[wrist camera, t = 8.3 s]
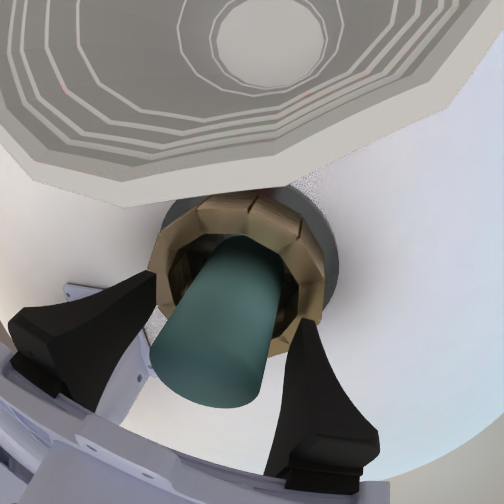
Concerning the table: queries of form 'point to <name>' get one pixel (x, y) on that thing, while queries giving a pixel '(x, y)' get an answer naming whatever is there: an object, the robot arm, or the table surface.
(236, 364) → the peg
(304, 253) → the ring holder
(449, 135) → the table surface
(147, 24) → the plastic cup
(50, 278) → the table surface
